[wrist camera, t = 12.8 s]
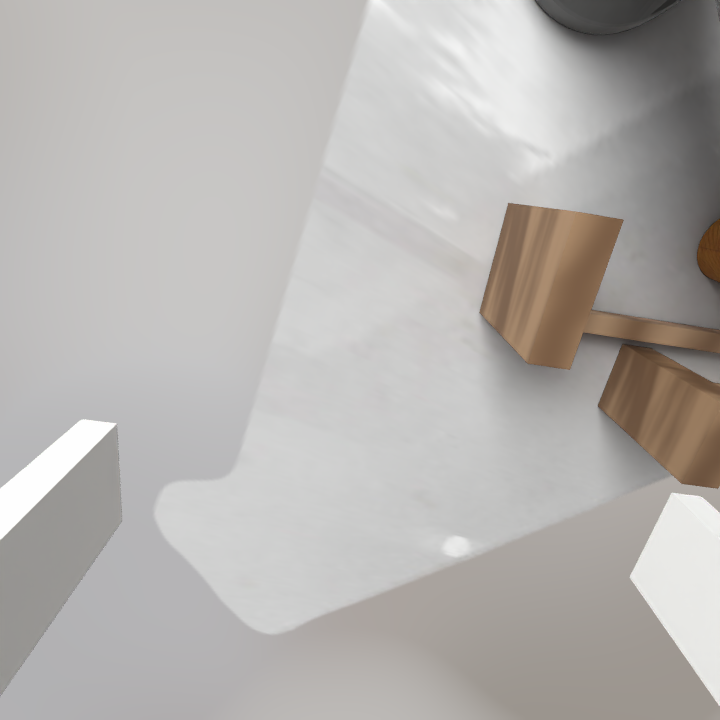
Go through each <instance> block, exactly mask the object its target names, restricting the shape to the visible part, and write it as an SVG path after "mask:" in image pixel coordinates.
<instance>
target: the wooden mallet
mask: <svg viewBox="0 0 720 720" xmlns="http://www.w3.org/2000/svg"><path fill="white" fill-rule="evenodd" d="M598 407H599V408H601V409H602V410H603V411H604V412H605V413H606V414H607V415H608V416H609V417H610V418H611V419H612V420H613V421H615V422H616V423H617V424H618V425H619V426H620V427H621V428H622V429H623V430H624V431H625V432H626V433H628V434H629V435H630V436H631V437H632V438H633V439H634V440H635V441H636V442H637V443H638V444H639V445H640V446H642V447H643V448H644V449H645V450H646V451H647V452H648V453H649V454H650V455H651V456H652V457H653V458H655V459H656V460H657V461H658V462H659V463H660V464H661V465H662V466H663V467H664V468H665V469H666V470H667V471H669V472H670V473H671V474H672V475H673V476H674V477H675V478H676V479H677V480H678V481H679V482H680V483H682V484H688V485H695V486H702V487H710V488H719V486H720V384H719V383H712V382H711V381H709V380H707V379H705V378H703V377H702V376H700V375H698V374H696V373H695V372H693V371H691V370H689V369H687V368H686V367H684V366H682V365H680V364H678V363H677V362H675V361H673V360H671V359H670V358H668V357H666V356H664V355H662V354H661V353H659V352H657V351H655V350H653V349H652V348H647V347H640V346H633V345H627V344H622V346H621V349H620V351H619V354H618V356H617V359H616V361H615V364H614V366H613V369H612V372H611V374H610V377H609V379H608V382H607V384H606V387H605V389H604V392H603V394H602V397H601V399H600V402H599V404H598Z"/></svg>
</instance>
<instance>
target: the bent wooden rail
mask: <svg viewBox="0 0 720 720" xmlns="http://www.w3.org/2000/svg"><path fill="white" fill-rule="evenodd" d="M622 223H623V220H622V219H616V218H610V217H605V216H599V215H593V214H587V213H581V212H575V211H567V210H559V209H551V208H543V207H535V206H527V205H519V204H512V203H508V207H507V211H506V214H505V218H504V222H503V226H502V229H501V233H500V237H499V241H498V245H497V248H496V252H495V256H494V260H493V263H492V267H491V271H490V275H489V279H488V282H487V286H486V290H485V294H484V297H483V301H482V305H481V309H480V313H481V315H482V316H483V317H484V318H485V319H486V320H487V321H488V322H489V323H490V324H491V325H492V326H493V327H494V328H495V329H496V330H497V331H498V333H499V334H500V335H501V336H502V337H503V338H504V339H505V340H506V341H507V342H508V343H509V344H510V345H511V346H512V347H513V348H514V349H515V351H516V352H517V353H518V354H519V355H520V356H521V357H522V358H523V359H524V360H525V361H526V362H527V363H528V364H534V365H541V366H548V367H555V368H561V369H568V370H570V368H571V365H572V362H573V359H574V357H575V354H576V351H577V348H578V345H579V343H580V340H581V337H582V334H583V332H584V333H591V334H597V335H604V336H610V337H617V338H623V339H630V340H637V341H643V342H650V343H656V344H663V345H669V346H676V347H682V348H689V349H695V350H702V351H708V352H715V353H720V330H716V329H710V328H704V327H697V326H691V325H685V324H678V323H672V322H665V321H659V320H653V319H646V318H640V317H634V316H627V315H621V314H614V313H608V312H602V311H595V310H591V309H592V307H593V304H594V301H595V298H596V295H597V293H598V290H599V287H600V284H601V281H602V279H603V276H604V273H605V270H606V268H607V265H608V262H609V259H610V256H611V254H612V251H613V248H614V245H615V243H616V240H617V237H618V234H619V231H620V229H621V226H622Z"/></svg>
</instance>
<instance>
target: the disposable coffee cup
mask: <svg viewBox="0 0 720 720" xmlns="http://www.w3.org/2000/svg"><path fill="white" fill-rule="evenodd" d="M697 260H698V265H699V267H700V270H701V271H702V272H703V274H704V275H706V276H707V277H709V278H710V279H713V280H715V281H717V282H719V283H720V219H718V220H717V221H716V222H715V223H713V224H712V225H711V226H710V228H709V229H708V230H707V231H706V232H705V234H704V235H703V237H702V239H701V241H700V244H699V247H698V252H697Z"/></svg>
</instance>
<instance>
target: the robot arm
mask: <svg viewBox="0 0 720 720" xmlns="http://www.w3.org/2000/svg"><path fill="white" fill-rule="evenodd" d="M536 1H537V3H538V4H539V5H540V6H541V8H542V9H543V10H544V11H545V12H546V13H547V14H548V15H550V16H551V17H552V18H553V19H554V20H556V21H557V22H559V23H560V24H562V25H564V26H566V27H568V28H570V29H572V30H575V31H578V32H582V33H587V34H597V35H603V34H614V33H618V32H623V31H626V30H629V29H632V28H634V27H637V26H639V25H641V24H643V23H645V22H647V21H649V20H651V19H652V18H654V17H656V16H658V15H659V14H661V13H663V12H665V11H666V10H668V9H669V8H671V7H672V6H674V5H675V4H677V3H678V2H679V1H681V0H536ZM715 1H716V5H717V10H718V15H719V20H720V0H715ZM121 522H122V507H121V488H120V469H119V451H118V434H117V424H115V423H107V422H99V421H91V420H83V419H82V420H80V421H79V422H78V423H77V424H76V425H75V426H73V427H72V428H71V429H70V430H69V431H67V432H66V433H65V434H64V435H63V436H62V437H61V438H59V439H58V440H57V441H56V442H55V443H53V444H52V445H51V446H50V447H49V448H48V449H46V450H45V451H44V452H43V453H42V454H40V455H39V456H38V457H37V458H36V459H35V460H33V461H32V462H31V463H30V464H29V465H28V466H26V467H25V468H24V469H23V470H22V471H21V472H19V473H18V474H17V475H16V476H15V477H14V478H12V479H11V480H10V481H9V482H8V483H7V484H5V485H4V486H3V487H2V488H1V489H0V696H1V695H2V693H3V692H4V690H5V689H6V688H7V686H8V685H9V683H10V682H11V680H12V679H13V677H14V676H15V675H16V673H17V672H18V670H19V669H20V667H21V666H22V664H23V663H24V662H25V660H26V659H27V657H28V656H29V655H30V653H31V652H32V650H33V649H34V647H35V646H36V644H37V643H38V641H39V640H40V639H41V637H42V636H43V634H44V633H45V632H46V630H47V629H48V627H49V626H50V624H51V623H52V621H53V620H54V618H55V617H56V616H57V614H58V613H59V611H60V610H61V609H62V607H63V606H64V604H65V603H66V601H67V600H68V598H69V597H70V595H71V594H72V593H73V591H74V590H75V588H76V587H77V585H78V584H79V583H80V581H81V580H82V578H83V577H84V575H85V574H86V572H87V571H88V570H89V568H90V567H91V565H92V564H93V563H94V561H95V559H96V558H97V557H98V555H99V554H100V552H101V551H102V550H103V548H104V547H105V545H106V544H107V542H108V541H109V540H110V538H111V536H112V535H113V534H114V532H115V531H116V529H117V528H118V527H119V525H120V524H121ZM630 579H631V580H632V581H633V583H634V584H635V586H636V587H637V589H638V590H639V591H640V593H641V594H642V596H643V597H644V599H645V600H646V602H647V603H648V604H649V606H650V607H651V609H652V610H653V612H654V613H655V614H656V616H657V617H658V619H659V620H660V622H661V623H662V624H663V626H664V627H665V629H666V630H667V632H668V633H669V634H670V636H671V637H672V639H673V640H674V641H675V643H676V644H677V646H678V647H679V649H680V650H681V651H682V653H683V654H684V656H685V657H686V659H687V660H688V662H689V663H690V664H691V666H692V667H693V668H694V670H695V672H696V673H697V674H698V676H699V677H700V679H701V680H702V682H703V683H704V684H705V686H706V687H707V689H708V690H709V692H710V693H711V695H712V696H713V697H714V699H715V700H716V702H717V703H718V705H719V706H720V513H719V512H718V511H717V510H716V509H715V508H714V507H713V506H712V505H710V504H709V503H708V502H707V501H706V500H705V499H704V498H703V497H701V496H694V495H686V494H678V493H671V495H670V497H669V499H668V501H667V503H666V505H665V507H664V509H663V511H662V513H661V515H660V517H659V519H658V521H657V523H656V525H655V528H654V529H653V532H652V534H651V535H650V537H649V539H648V541H647V543H646V546H645V548H644V550H643V552H642V553H641V556H640V558H639V559H638V562H637V564H636V566H635V568H634V570H633V572H632V574H631V576H630Z"/></svg>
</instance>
